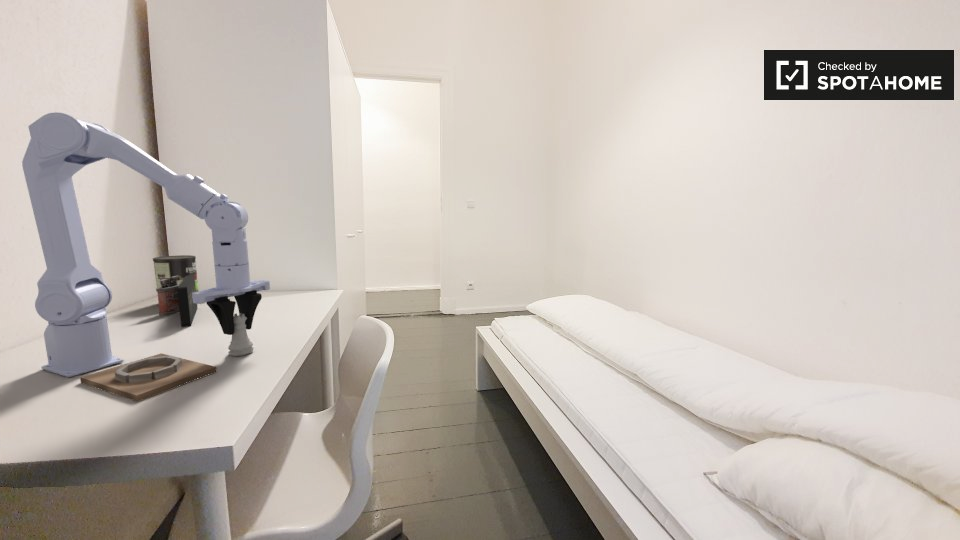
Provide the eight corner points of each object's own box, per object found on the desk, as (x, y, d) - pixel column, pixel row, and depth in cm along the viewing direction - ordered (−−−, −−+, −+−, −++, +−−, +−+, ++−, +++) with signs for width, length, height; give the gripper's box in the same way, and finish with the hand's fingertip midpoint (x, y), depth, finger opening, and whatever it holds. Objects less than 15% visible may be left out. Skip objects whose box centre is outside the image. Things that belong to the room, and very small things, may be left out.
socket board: (80, 382, 66) (79, 370, 65) (161, 358, 76) (160, 347, 76) (137, 401, 59) (135, 388, 59) (216, 372, 70) (215, 360, 70)
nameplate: (190, 326, 97) (186, 287, 96) (181, 327, 96) (177, 287, 95) (197, 308, 115) (194, 274, 113) (189, 309, 114) (186, 275, 112)
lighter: (167, 316, 106) (163, 279, 104) (155, 315, 106) (151, 279, 104) (190, 308, 114) (186, 274, 112) (178, 308, 114) (174, 274, 112)
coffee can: (205, 297, 128) (200, 254, 125) (192, 305, 118) (187, 258, 116) (167, 299, 125) (162, 255, 123) (151, 307, 115) (145, 259, 113)
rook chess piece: (242, 357, 77) (237, 318, 76) (223, 356, 78) (218, 317, 77) (259, 349, 81) (255, 312, 80) (240, 347, 82) (236, 311, 81)
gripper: (207, 270, 69) (214, 345, 71) (278, 261, 82) (282, 324, 84) (182, 268, 71) (189, 339, 73) (254, 259, 85) (259, 320, 87)
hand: (237, 331), depth 79 cm, fingers closed on rook chess piece, 3 cm apart
